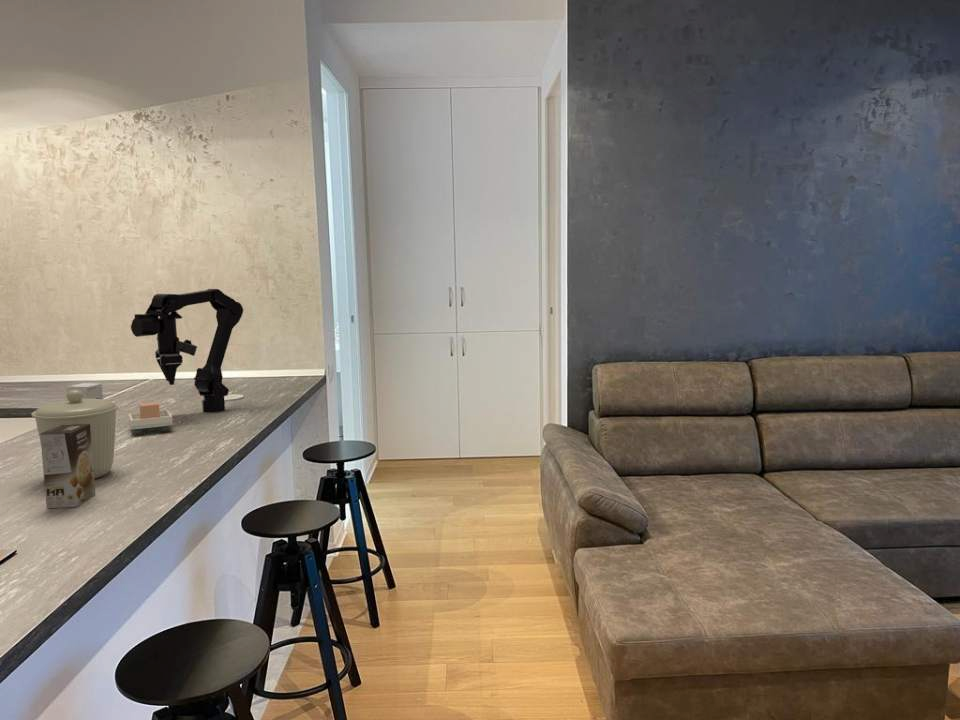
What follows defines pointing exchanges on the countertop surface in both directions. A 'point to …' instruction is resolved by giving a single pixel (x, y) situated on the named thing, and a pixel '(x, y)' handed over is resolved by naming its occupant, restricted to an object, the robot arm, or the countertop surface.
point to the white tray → (150, 422)
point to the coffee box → (67, 465)
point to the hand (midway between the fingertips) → (170, 382)
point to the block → (149, 410)
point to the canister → (84, 412)
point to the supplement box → (88, 390)
